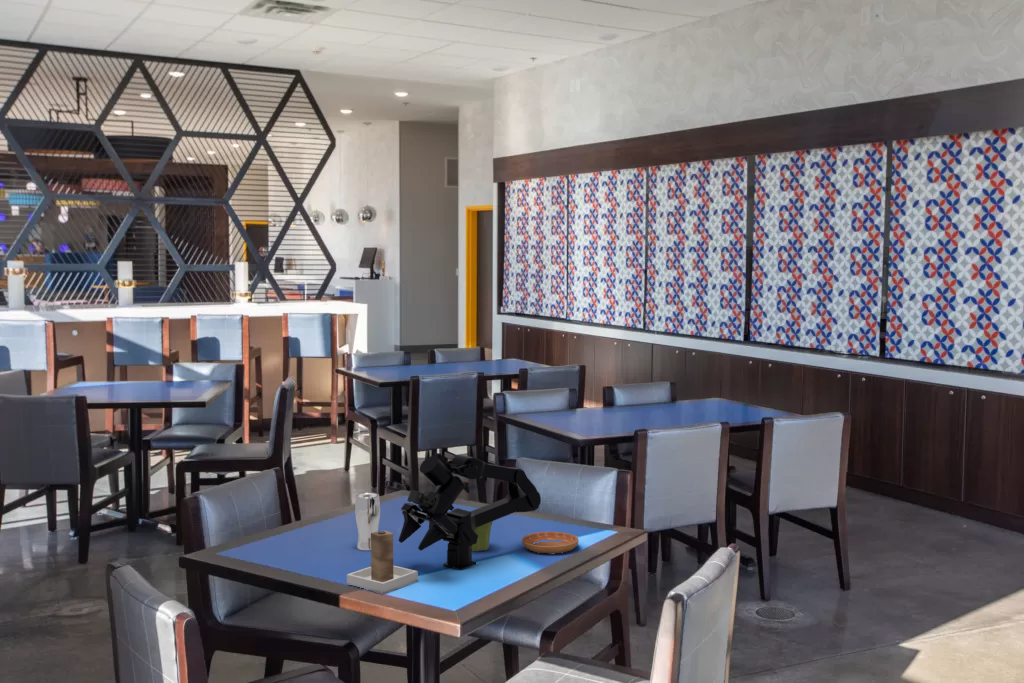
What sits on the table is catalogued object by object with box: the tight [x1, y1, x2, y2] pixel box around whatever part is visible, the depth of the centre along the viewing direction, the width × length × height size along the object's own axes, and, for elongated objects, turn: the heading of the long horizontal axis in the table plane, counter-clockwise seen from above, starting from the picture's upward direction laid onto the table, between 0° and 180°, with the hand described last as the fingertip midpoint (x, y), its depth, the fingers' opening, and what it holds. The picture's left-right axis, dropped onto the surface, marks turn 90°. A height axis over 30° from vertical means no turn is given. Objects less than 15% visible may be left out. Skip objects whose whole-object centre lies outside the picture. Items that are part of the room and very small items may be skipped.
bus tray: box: [346, 564, 419, 595], centre depth 238 cm, size 12×12×3 cm
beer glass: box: [354, 492, 381, 551], centre depth 270 cm, size 7×7×15 cm
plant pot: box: [472, 521, 493, 552], centre depth 269 cm, size 9×9×9 cm
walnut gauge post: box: [370, 530, 394, 582], centre depth 238 cm, size 4×4×12 cm
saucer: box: [521, 531, 580, 554], centre depth 270 cm, size 16×16×3 cm
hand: (409, 545), depth 243 cm, fingers open, 9 cm apart
